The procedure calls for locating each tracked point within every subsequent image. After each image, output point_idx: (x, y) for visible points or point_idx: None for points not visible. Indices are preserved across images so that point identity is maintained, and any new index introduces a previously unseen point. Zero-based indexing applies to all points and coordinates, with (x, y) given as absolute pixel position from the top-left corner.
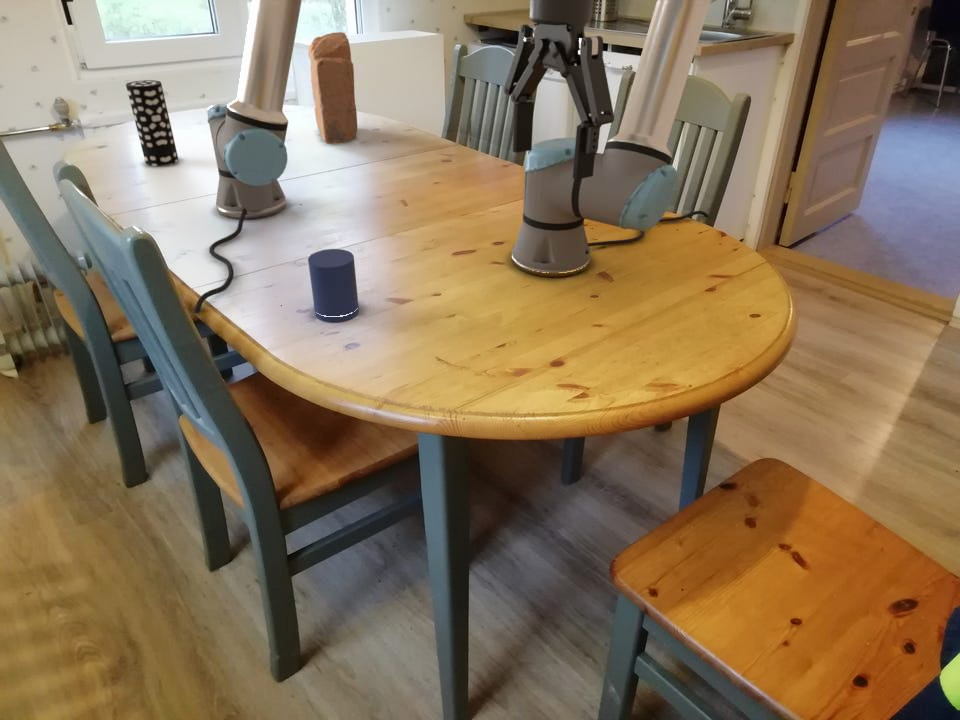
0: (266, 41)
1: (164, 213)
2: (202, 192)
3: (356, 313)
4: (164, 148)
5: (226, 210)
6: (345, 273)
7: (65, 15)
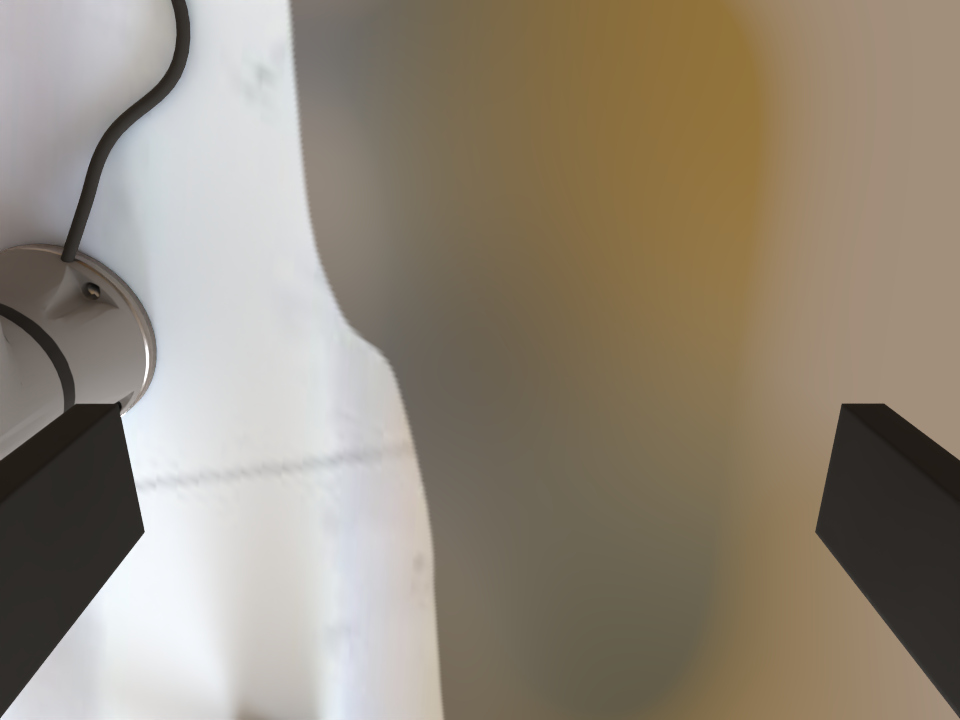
0: None
1: (295, 402)
2: (191, 510)
3: None
4: None
5: (121, 294)
6: None
7: (71, 441)
